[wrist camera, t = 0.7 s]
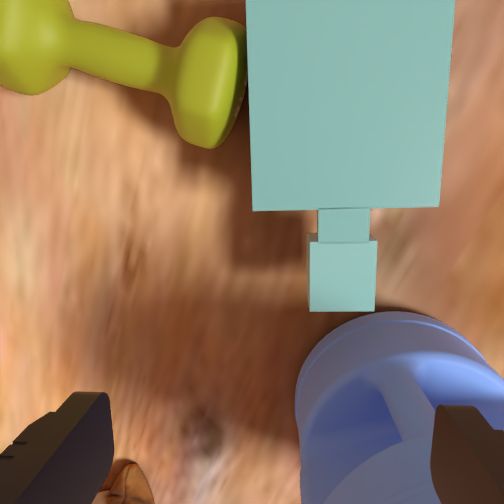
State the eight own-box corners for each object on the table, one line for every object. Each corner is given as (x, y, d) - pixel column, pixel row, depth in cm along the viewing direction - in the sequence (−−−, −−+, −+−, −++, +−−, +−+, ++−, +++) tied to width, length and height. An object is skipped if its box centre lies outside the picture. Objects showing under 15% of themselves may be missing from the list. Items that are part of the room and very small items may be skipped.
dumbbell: (23, 92, 30) (-57, 72, 23) (39, -25, 28) (-43, -85, 21) (231, 156, 30) (216, 157, 23) (262, 45, 28) (256, 7, 21)
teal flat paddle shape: (248, -8, 23) (244, -30, 20) (437, -20, 22) (458, -44, 20) (258, 296, 28) (255, 311, 25) (415, 295, 27) (430, 311, 24)
